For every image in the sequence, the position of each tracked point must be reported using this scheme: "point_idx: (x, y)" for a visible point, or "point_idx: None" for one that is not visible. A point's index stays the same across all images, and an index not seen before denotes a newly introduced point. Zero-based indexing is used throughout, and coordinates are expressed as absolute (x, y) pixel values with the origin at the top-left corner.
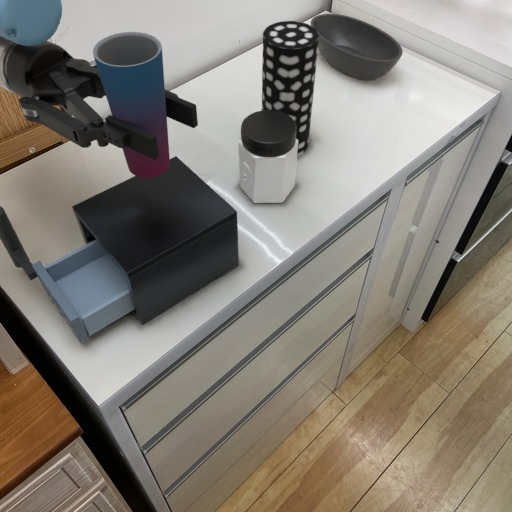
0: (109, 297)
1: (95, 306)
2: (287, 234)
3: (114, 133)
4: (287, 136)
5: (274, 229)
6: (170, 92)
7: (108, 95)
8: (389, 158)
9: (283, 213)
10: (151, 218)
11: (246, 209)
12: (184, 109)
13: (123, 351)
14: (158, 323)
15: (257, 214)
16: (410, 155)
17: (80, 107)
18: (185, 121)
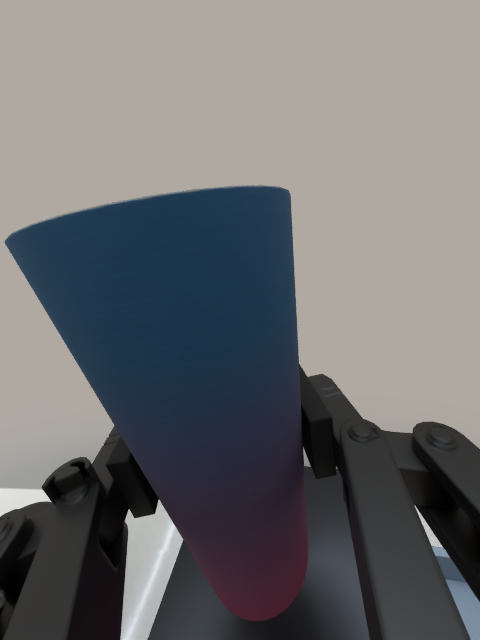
0: None
1: (476, 629)
2: (163, 516)
3: (330, 389)
4: (40, 505)
5: (160, 537)
6: (109, 439)
7: (297, 340)
8: (8, 509)
9: (128, 550)
10: (310, 549)
11: (132, 617)
12: None
13: (427, 535)
14: None
15: (139, 586)
16: (6, 494)
17: (432, 587)
18: None
